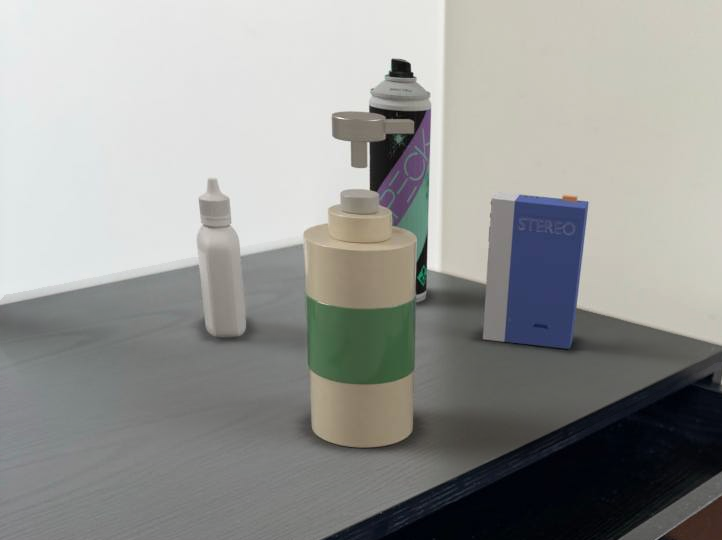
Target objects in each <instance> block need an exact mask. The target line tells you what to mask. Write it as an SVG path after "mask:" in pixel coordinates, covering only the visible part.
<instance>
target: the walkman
mask: <svg viewBox="0 0 722 540" xmlns="http://www.w3.org/2000/svg"><path fill="white" fill-rule="evenodd" d="M588 211H589V201H587V200H578V195H571V194H562V197H561V198H557V197H549V196H538V195H529V194H517V193H510V192H498V193H497V195H495V194H494V195H493V196H492V197H491V200H490V213H489V219H490V221H489V228H488V250H487V262H486V263H487V265H486V279H485V281H486V282H485V298H484V300H485V301H484V315H483V331H482V340H487V341H495V342H502V343H503V342H504V343H513V344H521V345H530V346H539V347H549V348H557V349H564V350H570V349H571V346H572V342H573V340H574V331H575V324H576V315H577V305H578V298H579V290H580V289H579V288H580V280H581V271H582V263H583V256H584V245H585V236H586V227H587V220H588Z"/></svg>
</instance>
